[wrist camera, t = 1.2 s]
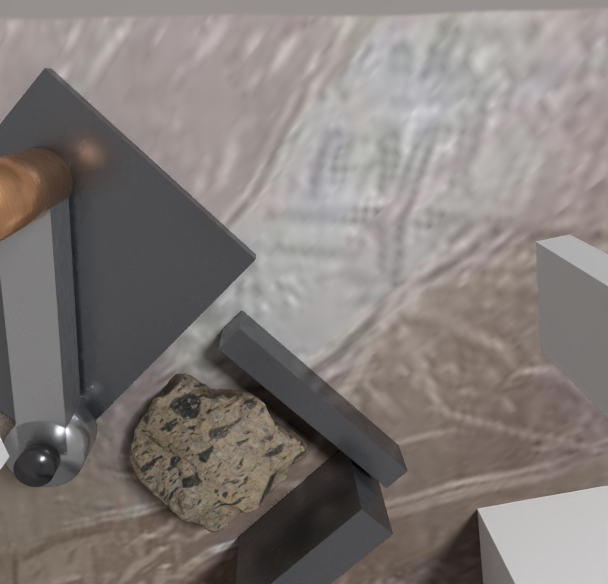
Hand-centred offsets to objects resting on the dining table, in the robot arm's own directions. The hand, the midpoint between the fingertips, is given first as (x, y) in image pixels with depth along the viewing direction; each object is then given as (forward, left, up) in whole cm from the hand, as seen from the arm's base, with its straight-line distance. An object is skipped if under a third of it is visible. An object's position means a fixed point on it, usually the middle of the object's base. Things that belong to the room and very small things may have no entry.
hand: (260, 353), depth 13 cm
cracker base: (-14, -4, -24) cm, 28 cm away
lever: (-16, +4, -22) cm, 28 cm away
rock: (-16, -10, -24) cm, 31 cm away
